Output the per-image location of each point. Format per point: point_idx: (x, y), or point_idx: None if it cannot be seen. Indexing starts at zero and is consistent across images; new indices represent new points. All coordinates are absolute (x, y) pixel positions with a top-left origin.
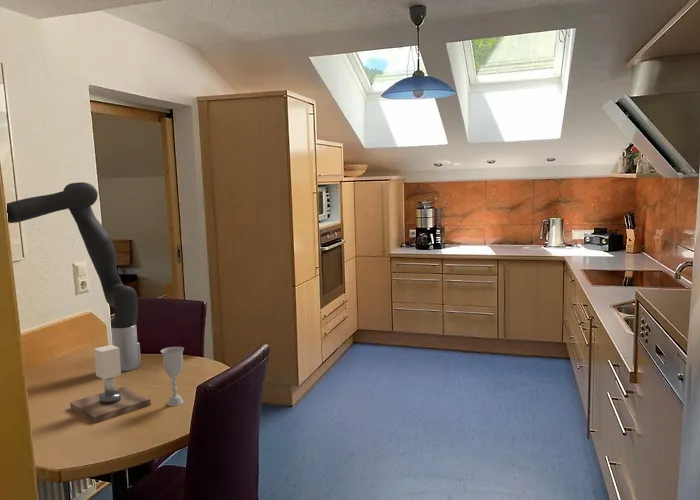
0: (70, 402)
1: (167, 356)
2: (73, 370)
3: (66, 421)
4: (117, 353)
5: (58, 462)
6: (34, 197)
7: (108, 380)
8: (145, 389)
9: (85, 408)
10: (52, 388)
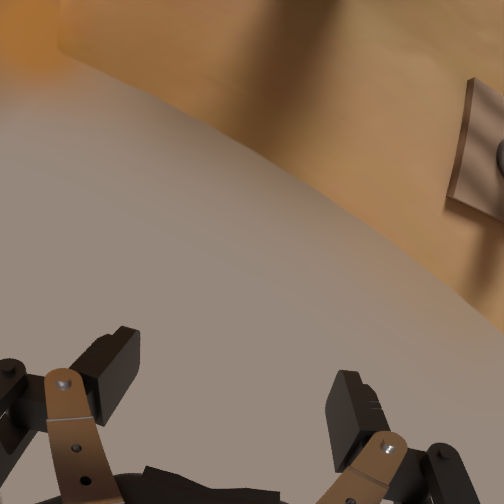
0: (455, 198)
1: None
2: (195, 5)
3: (483, 250)
4: None
5: None
6: None
7: None
8: (486, 58)
9: (501, 212)
10: (280, 111)
